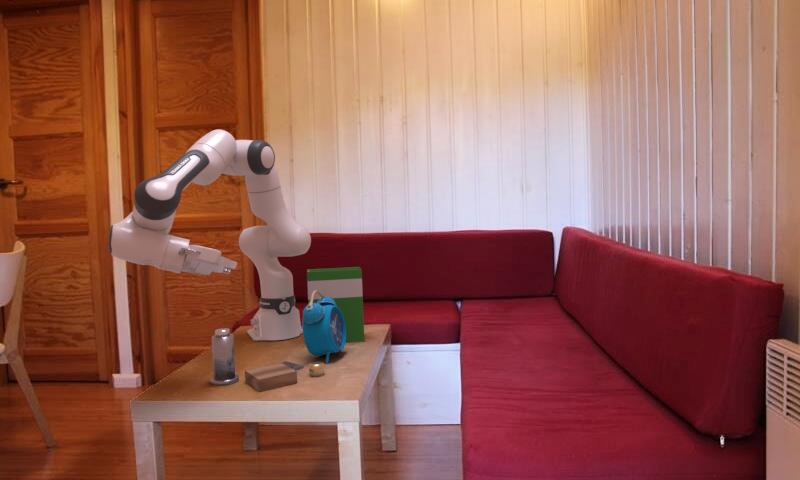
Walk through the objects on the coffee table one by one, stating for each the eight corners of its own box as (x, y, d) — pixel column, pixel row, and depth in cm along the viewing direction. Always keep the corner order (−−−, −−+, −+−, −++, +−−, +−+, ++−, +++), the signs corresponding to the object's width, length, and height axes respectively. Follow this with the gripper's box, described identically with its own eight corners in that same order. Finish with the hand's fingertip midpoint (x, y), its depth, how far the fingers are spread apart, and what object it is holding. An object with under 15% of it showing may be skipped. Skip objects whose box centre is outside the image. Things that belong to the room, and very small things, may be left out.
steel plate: (268, 370, 151) (268, 366, 150) (285, 365, 155) (285, 361, 155) (286, 375, 145) (286, 371, 145) (303, 369, 150) (303, 365, 150)
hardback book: (362, 336, 185) (359, 266, 183) (364, 341, 178) (361, 269, 176) (310, 340, 182) (307, 269, 181) (310, 345, 175) (306, 272, 173)
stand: (245, 381, 139) (244, 370, 139) (281, 373, 145) (281, 362, 145) (259, 391, 131) (258, 379, 131) (297, 382, 137) (296, 371, 137)
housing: (207, 381, 141) (204, 329, 140) (233, 375, 145) (231, 325, 144) (215, 387, 136) (212, 334, 135) (242, 381, 140) (240, 330, 139)
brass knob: (306, 374, 144) (306, 363, 144) (320, 371, 146) (319, 360, 146) (313, 378, 141) (312, 366, 141) (327, 375, 143) (326, 363, 143)
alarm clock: (334, 365, 151) (331, 295, 150) (299, 364, 153) (296, 295, 152) (351, 349, 168) (348, 286, 166) (319, 349, 170) (317, 286, 168)
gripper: (184, 235, 127) (243, 250, 132) (178, 250, 145) (230, 262, 150) (177, 260, 125) (236, 274, 130) (172, 272, 143) (224, 284, 149)
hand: (233, 268), depth 141 cm, fingers open, 8 cm apart
